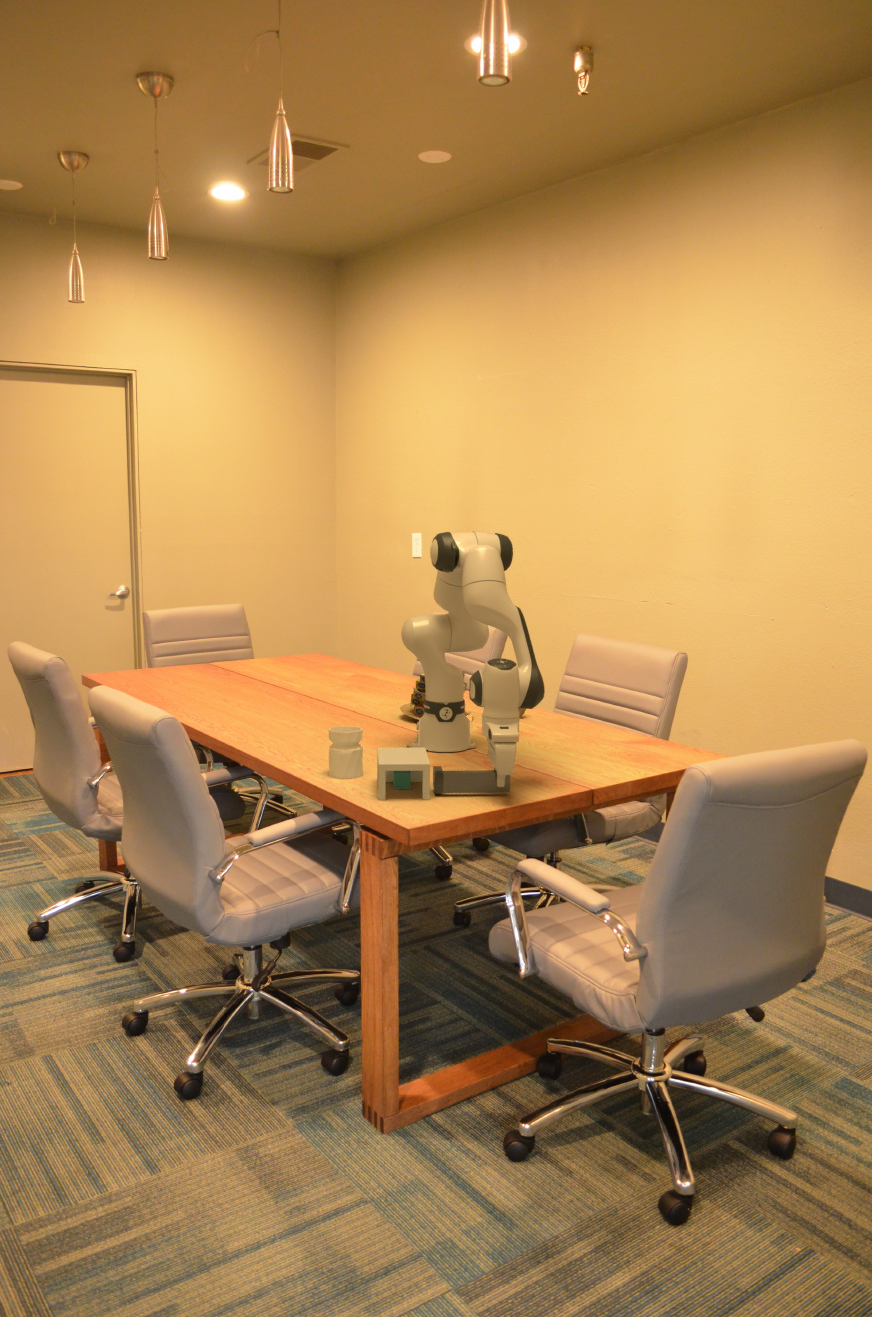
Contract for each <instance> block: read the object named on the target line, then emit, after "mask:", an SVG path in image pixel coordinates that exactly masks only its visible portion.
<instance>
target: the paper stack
mask: <svg viewBox="0 0 872 1317" xmlns="http://www.w3.org/2000/svg"><path fill="white" fill-rule="evenodd" d="M460 670H461V672H462V673H463V676H464V677H465V676H466V675H465V671H464V669H460ZM467 685H468V683H467V682H464V693H465V692H466V691H467V687H468V686H467ZM412 688H413V693H411V695H410V703H405V704H403V705H401V706H400V707H399V710H400V712H401V713H403V714H404V715H406V716H408V717H410V718H412V719H415V720H419V719H421V717H422V716H423V715H424V713H425V712H424V700H425V699H426V688H425V674H424V672H423V673H420V676H419V679H416V680H415V687H412ZM464 714H465V716H467V715H470V714H471V713H469V712H468V711H465V712H464Z"/></svg>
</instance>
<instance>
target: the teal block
mask: <svg viewBox="0 0 872 1317" xmlns="http://www.w3.org/2000/svg"><path fill="white" fill-rule="evenodd" d="M411 783H412V782H411V772H410V771H394V782H393V789H394V790H399V789H400V790H405V789H407V790H410V789H411Z"/></svg>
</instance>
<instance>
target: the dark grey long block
mask: <svg viewBox="0 0 872 1317" xmlns="http://www.w3.org/2000/svg"><path fill="white" fill-rule="evenodd" d="M496 778H497V771H496V770H494V769H491V770H489V769H487V770H479V769H478V770H476V769H475V770H471V769H470V770H469V769H468V770H443V767H442V766H441V765H433V766H432V788H433V791H434V794H494V793H495V794H496V793H497V794H500V793H501V794H503V793H505V794H507V793H508V794H509V793H511V775H506V777H505V785H504V787H498V786H497V784H496Z"/></svg>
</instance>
